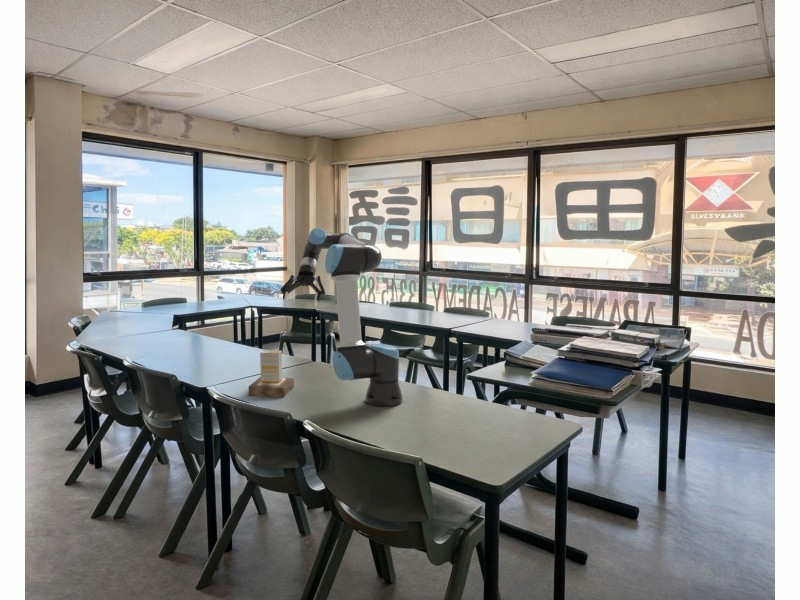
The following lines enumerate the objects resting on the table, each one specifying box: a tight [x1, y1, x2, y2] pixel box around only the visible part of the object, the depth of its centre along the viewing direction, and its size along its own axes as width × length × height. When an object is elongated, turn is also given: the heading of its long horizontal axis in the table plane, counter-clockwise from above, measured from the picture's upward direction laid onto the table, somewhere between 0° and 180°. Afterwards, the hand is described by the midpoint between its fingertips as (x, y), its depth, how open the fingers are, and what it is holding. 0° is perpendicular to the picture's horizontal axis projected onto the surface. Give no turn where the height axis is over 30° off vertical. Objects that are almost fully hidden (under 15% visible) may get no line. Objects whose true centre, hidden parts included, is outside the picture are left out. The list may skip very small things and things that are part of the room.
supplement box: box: [259, 349, 283, 383], centre depth 228 cm, size 8×5×13 cm, turn 85°
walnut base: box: [248, 376, 295, 398], centre depth 229 cm, size 15×15×4 cm
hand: (299, 305), depth 236 cm, fingers open, 13 cm apart
